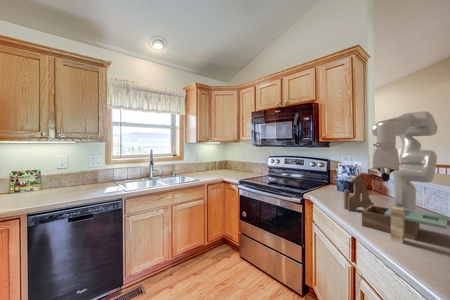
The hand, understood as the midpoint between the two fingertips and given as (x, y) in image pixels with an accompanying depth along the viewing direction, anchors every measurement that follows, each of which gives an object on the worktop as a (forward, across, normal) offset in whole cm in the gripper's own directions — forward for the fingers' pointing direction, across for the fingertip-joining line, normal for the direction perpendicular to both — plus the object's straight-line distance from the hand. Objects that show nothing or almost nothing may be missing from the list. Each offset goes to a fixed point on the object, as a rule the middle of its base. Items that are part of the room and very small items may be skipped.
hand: (385, 181), depth 100 cm
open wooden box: (+25, +2, 0) cm, 25 cm away
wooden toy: (+25, -18, +22) cm, 38 cm away
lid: (+16, +11, 0) cm, 19 cm away
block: (+25, +7, -14) cm, 30 cm away
